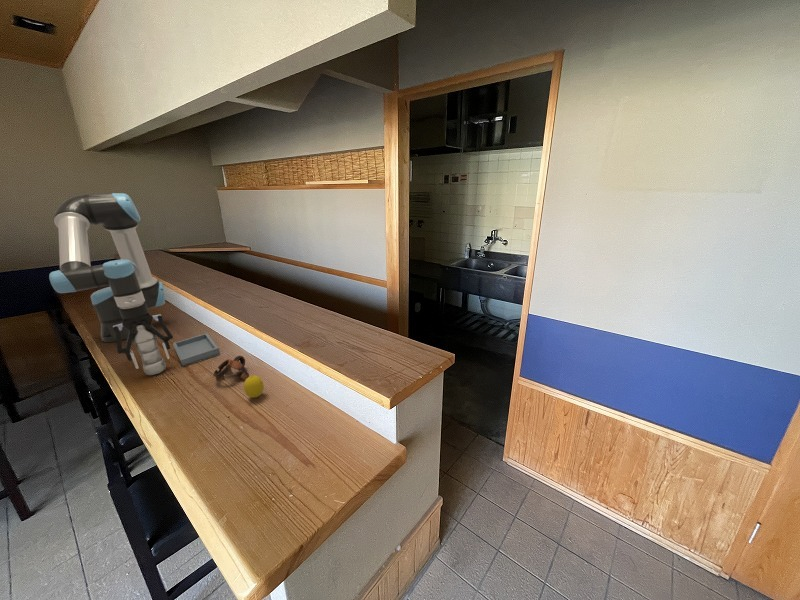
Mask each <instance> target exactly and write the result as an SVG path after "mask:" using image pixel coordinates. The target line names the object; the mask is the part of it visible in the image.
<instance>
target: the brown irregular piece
mask: <svg viewBox="0 0 800 600" xmlns="http://www.w3.org/2000/svg"><path fill="white" fill-rule="evenodd" d="M245 365H246V358H245V357H244V356H243V355H237V356H236V357H234V359H233V360H232V359H231V358H228V359H227V358H226V359H225V360H224V361H223V362H222V363H220V364H219V365H218V367H217V369H215V370H214V372H213V375H212V376H213V377H215V381H216V382H219V381H220V382H221V381H226V380H225V379H226V378H225V376H232V375H233V374H234V372H233V371H232V368H233V369H234V370H236V371H241V372H242V373H241V375H240V377H239V378H241V379H242V380H243V381H244V380H246V379H247V378H248V377H249V372H248V370H247V368H246V367H245Z"/></svg>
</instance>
